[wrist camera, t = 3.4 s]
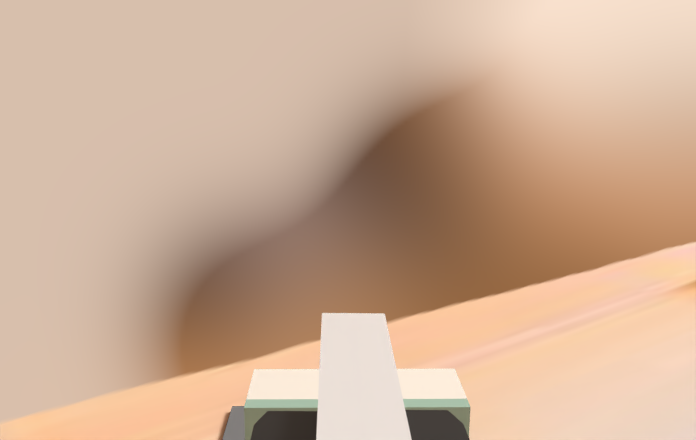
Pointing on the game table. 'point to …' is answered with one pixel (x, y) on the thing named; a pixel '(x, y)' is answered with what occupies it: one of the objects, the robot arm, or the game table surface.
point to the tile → (303, 385)
